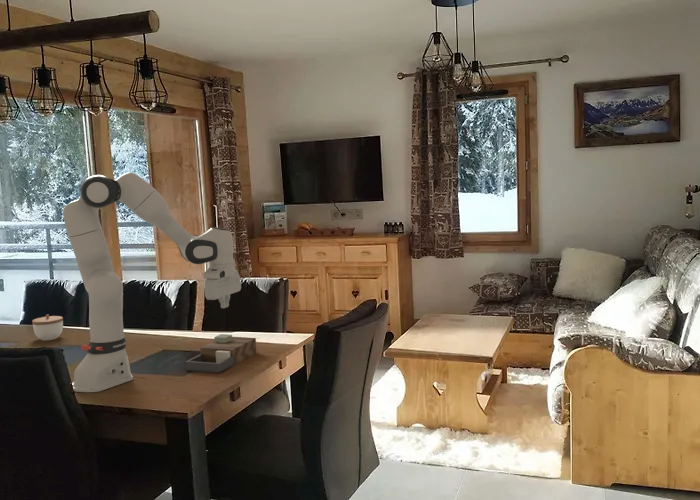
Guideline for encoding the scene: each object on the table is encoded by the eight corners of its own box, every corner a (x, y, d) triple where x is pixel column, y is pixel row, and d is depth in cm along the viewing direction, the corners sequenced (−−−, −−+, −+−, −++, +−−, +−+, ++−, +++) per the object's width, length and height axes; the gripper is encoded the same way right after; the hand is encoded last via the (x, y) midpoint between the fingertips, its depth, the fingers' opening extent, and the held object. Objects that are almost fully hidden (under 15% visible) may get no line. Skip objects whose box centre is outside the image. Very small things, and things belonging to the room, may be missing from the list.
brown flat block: (233, 365, 234) (233, 349, 233) (201, 363, 239) (200, 347, 238) (256, 352, 251) (255, 337, 250) (225, 350, 256) (224, 336, 255)
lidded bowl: (44, 343, 278) (42, 318, 277) (27, 340, 285) (25, 316, 284) (70, 336, 289) (68, 313, 288) (53, 334, 295) (51, 311, 294)
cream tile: (230, 364, 234) (228, 365, 232) (219, 363, 235) (216, 364, 233) (230, 351, 233) (227, 352, 231) (218, 350, 235) (215, 351, 233)
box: (219, 373, 225) (219, 363, 224) (186, 370, 229) (185, 361, 229) (233, 365, 234) (233, 356, 234) (201, 363, 239) (200, 354, 238)
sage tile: (225, 342, 244) (225, 337, 244) (214, 342, 246) (214, 337, 245) (232, 339, 249) (232, 334, 249) (221, 339, 250) (220, 334, 250)
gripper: (229, 266, 244) (231, 301, 246) (200, 274, 225) (202, 312, 227) (244, 267, 242) (246, 302, 244) (215, 275, 223) (217, 313, 225)
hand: (224, 307), depth 235 cm, fingers closed
